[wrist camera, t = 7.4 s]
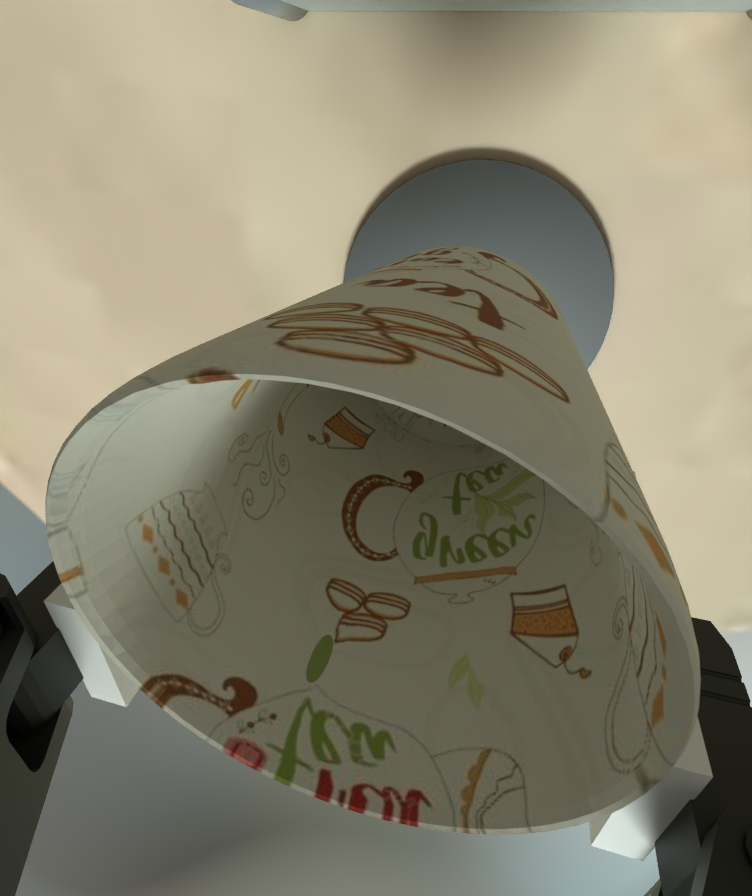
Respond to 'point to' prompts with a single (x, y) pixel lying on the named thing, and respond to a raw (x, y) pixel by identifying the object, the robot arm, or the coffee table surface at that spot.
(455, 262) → the mug
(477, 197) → the coaster
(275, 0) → the fence
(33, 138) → the coffee table surface
